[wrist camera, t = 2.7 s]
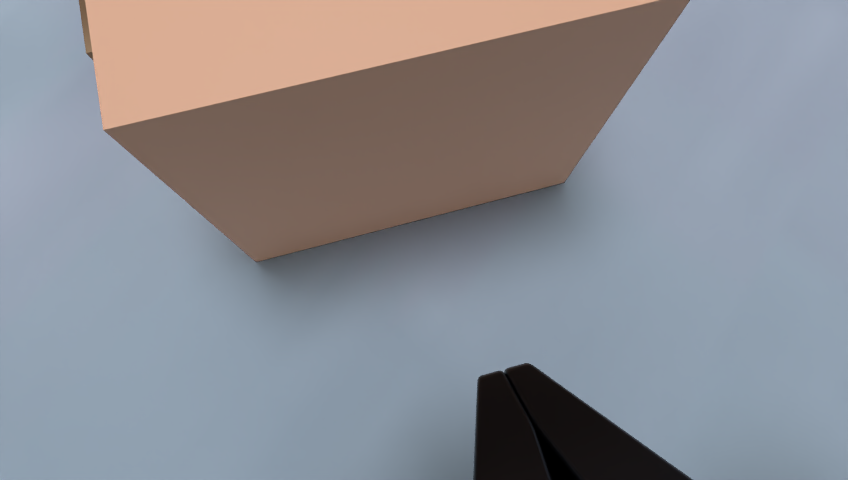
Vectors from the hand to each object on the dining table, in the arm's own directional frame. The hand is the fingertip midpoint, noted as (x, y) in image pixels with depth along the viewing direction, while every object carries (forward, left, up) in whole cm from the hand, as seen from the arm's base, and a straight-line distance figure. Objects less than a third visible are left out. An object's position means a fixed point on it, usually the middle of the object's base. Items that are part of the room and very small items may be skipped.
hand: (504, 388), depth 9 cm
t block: (+9, -8, -8) cm, 14 cm away
